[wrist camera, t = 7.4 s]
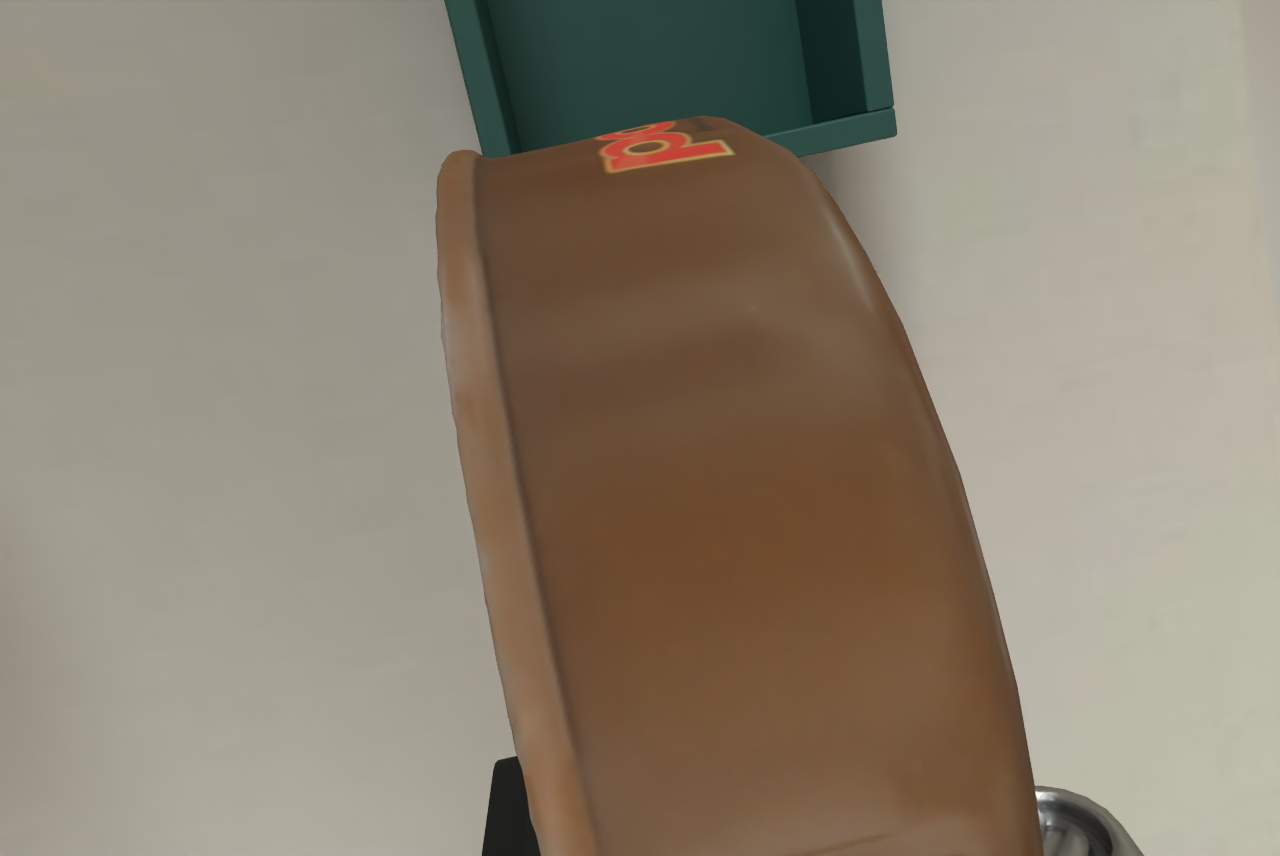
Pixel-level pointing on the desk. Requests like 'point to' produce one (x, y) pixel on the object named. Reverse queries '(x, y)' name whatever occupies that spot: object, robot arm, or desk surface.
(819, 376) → the tin
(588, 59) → the box
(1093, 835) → the robot arm
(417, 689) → the desk surface
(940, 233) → the desk surface
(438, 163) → the desk surface
